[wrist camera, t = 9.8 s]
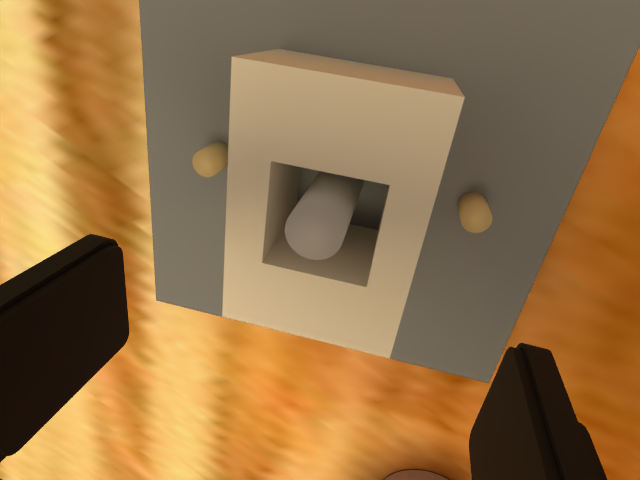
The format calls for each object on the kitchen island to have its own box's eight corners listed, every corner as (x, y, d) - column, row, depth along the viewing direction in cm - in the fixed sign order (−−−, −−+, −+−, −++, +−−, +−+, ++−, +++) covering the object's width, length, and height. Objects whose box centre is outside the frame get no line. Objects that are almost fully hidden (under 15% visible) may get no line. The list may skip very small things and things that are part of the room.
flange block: (279, 48, 17) (231, 56, 13) (452, 78, 16) (464, 97, 12) (261, 258, 22) (221, 316, 18) (395, 289, 21) (389, 358, 17)
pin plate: (660, -39, 15) (834, -85, 9) (485, 367, 24) (508, 487, 17) (150, -103, 17) (-3, -176, 11) (167, 289, 26) (88, 371, 20)
